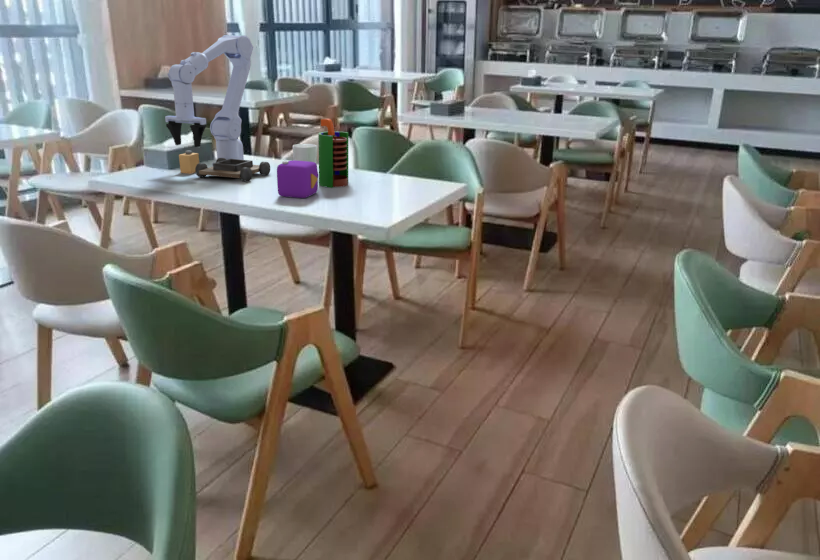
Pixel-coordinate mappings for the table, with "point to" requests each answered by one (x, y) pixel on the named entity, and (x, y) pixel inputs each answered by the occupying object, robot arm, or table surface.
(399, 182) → the table surface
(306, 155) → the white cup
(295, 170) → the purple arrow cube
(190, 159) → the tan block with knob
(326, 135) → the motor
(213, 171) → the chassis
